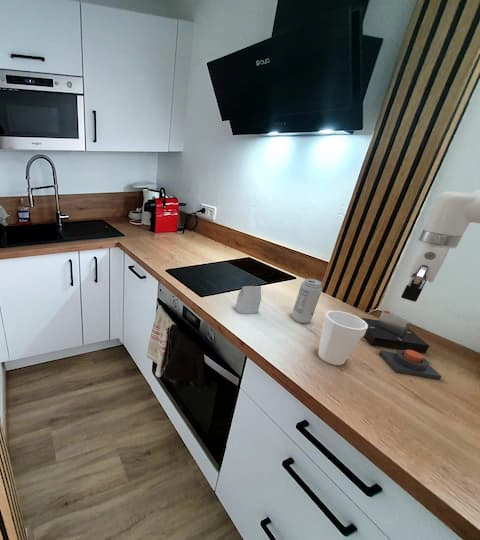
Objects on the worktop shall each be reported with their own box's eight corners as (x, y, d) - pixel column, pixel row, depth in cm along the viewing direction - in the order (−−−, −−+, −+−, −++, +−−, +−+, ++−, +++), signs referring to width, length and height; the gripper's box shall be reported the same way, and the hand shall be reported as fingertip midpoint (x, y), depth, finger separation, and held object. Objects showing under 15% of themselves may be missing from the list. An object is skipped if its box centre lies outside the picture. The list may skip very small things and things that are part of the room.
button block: (418, 359, 83) (423, 351, 81) (439, 379, 76) (445, 371, 74) (378, 353, 85) (382, 345, 84) (395, 372, 78) (400, 363, 76)
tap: (404, 336, 88) (411, 321, 86) (400, 336, 88) (407, 322, 86) (380, 323, 94) (386, 310, 92) (376, 324, 94) (382, 310, 92)
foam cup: (356, 361, 81) (373, 322, 76) (343, 373, 77) (360, 334, 71) (320, 343, 89) (333, 307, 83) (305, 354, 84) (319, 316, 78)
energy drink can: (312, 325, 97) (326, 286, 91) (293, 322, 99) (305, 283, 93) (307, 316, 103) (320, 279, 97) (289, 313, 104) (300, 276, 98)
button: (414, 355, 80) (417, 350, 80) (423, 364, 77) (426, 359, 76) (399, 353, 81) (402, 348, 80) (408, 361, 78) (410, 356, 77)
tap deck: (399, 330, 96) (403, 322, 95) (425, 353, 85) (430, 345, 84) (352, 324, 99) (355, 316, 98) (371, 345, 88) (375, 337, 87)
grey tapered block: (257, 313, 104) (263, 288, 100) (239, 313, 103) (245, 289, 100) (252, 307, 107) (258, 284, 103) (235, 308, 107) (240, 284, 103)
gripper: (457, 248, 69) (424, 309, 76) (460, 236, 79) (432, 291, 86) (415, 240, 74) (388, 298, 81) (423, 230, 85) (399, 282, 91)
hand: (410, 294), depth 84 cm, fingers open, 9 cm apart
